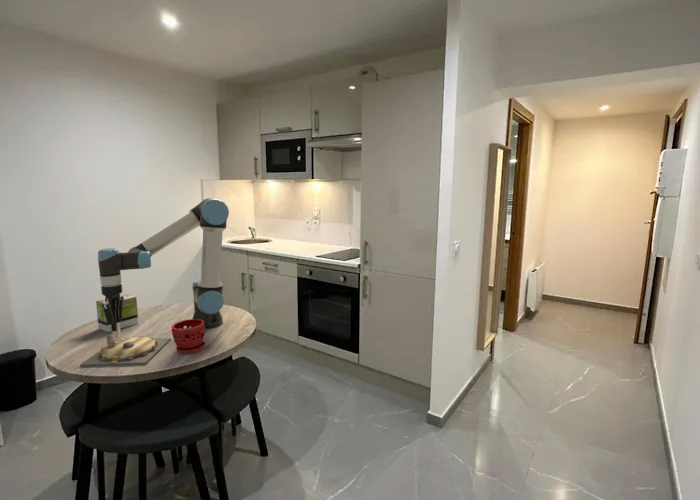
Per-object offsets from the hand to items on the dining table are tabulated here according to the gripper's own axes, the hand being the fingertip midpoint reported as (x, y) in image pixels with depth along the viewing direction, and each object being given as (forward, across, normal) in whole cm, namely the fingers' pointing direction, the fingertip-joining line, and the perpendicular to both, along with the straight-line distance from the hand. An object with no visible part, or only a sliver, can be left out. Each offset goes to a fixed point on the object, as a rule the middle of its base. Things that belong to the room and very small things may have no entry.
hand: (116, 337), depth 167 cm
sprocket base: (+5, +5, +7) cm, 10 cm away
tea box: (+5, -28, -14) cm, 32 cm away
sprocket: (+4, +5, +7) cm, 10 cm away
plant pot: (+5, +4, +32) cm, 33 cm away
